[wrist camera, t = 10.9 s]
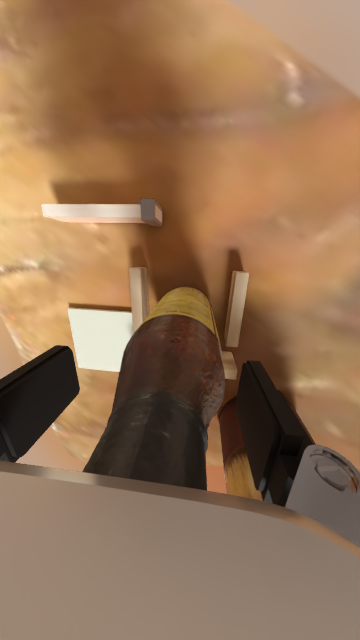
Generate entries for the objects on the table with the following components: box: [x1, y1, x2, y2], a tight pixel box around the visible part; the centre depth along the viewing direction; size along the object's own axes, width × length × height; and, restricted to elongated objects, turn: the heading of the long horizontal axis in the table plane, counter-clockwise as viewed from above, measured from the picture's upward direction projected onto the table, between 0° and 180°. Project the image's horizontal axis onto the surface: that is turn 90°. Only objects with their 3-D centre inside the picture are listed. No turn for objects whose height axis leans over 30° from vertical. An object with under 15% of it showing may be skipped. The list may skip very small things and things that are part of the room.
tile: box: [67, 307, 133, 372], centre depth 24 cm, size 9×9×1 cm
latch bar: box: [41, 199, 162, 226], centre depth 17 cm, size 11×2×3 cm, turn 88°
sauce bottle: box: [83, 286, 225, 491], centre depth 12 cm, size 6×6×20 cm
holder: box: [129, 267, 249, 380], centre depth 20 cm, size 12×11×4 cm
